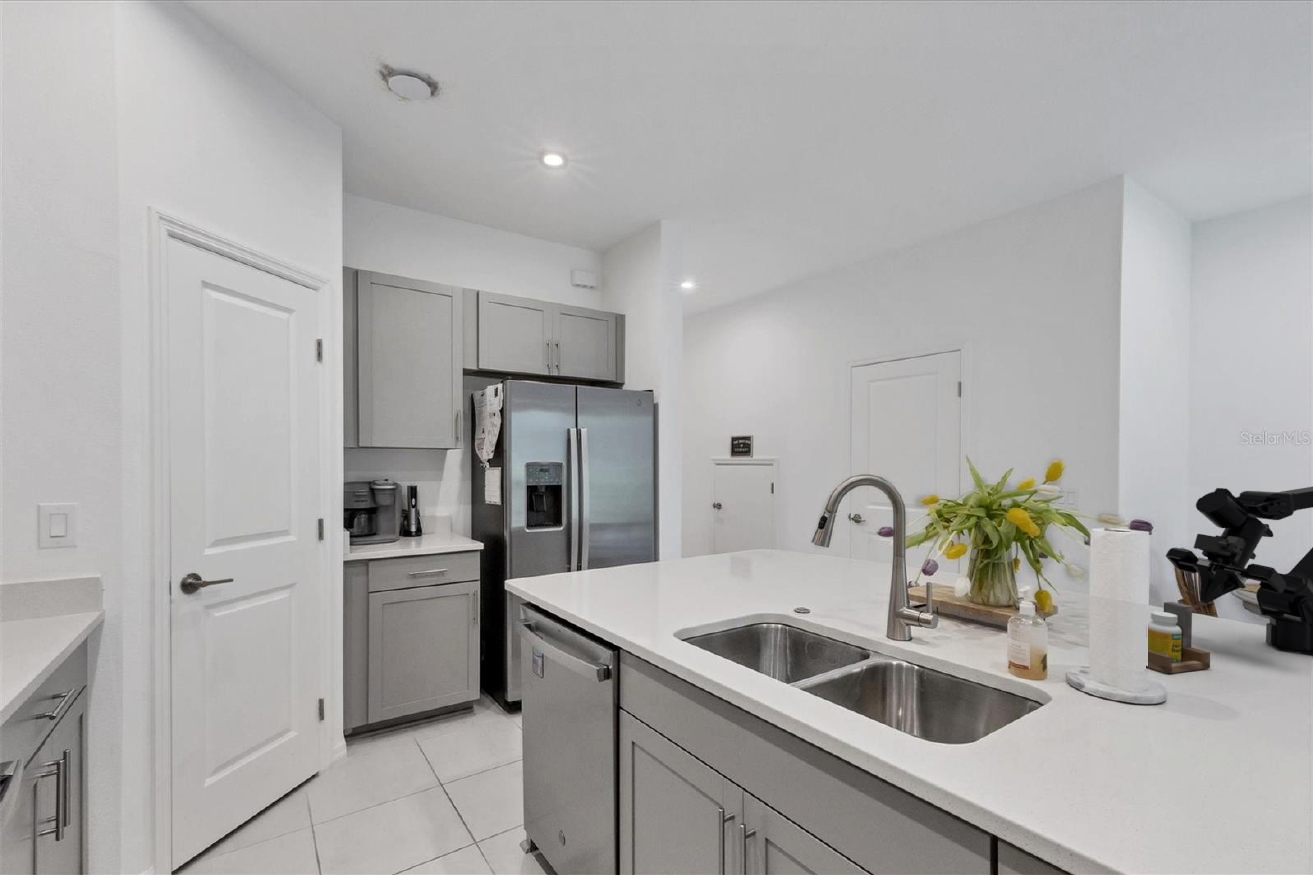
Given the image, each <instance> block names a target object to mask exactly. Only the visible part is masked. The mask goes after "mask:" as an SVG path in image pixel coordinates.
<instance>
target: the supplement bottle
mask: <svg viewBox="0 0 1313 875" xmlns="http://www.w3.org/2000/svg"><path fill="white" fill-rule="evenodd" d="M1150 613H1151V614H1150V618H1151V620H1152V621H1149V622H1147V624H1148V650H1151V651H1154V652H1157V653H1161V654H1164V655H1167V656H1170V657H1172V663H1180V662H1181V640H1182V631H1181V629H1180V627H1178V626H1177V625H1175V624H1176V623H1177V622H1178V618H1177V615H1175V614H1171V613H1167V612H1164V611H1157V610H1154V611H1151V612H1150Z"/></svg>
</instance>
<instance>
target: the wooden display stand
mask: <svg viewBox="0 0 1313 875" xmlns="http://www.w3.org/2000/svg"><path fill="white" fill-rule="evenodd" d="M1163 612H1167V613H1171V614H1175V615H1177V618H1178V622H1177V623H1176V624H1175V625H1177V626H1178V627H1180V629H1181V631H1182V640H1181V662H1180V663H1172V657H1170V656H1167V655H1164V654H1161V653H1157V652H1154V651H1151V650H1148V667H1147V668H1148V669H1149V668H1150V669H1152V670H1156V671H1158V672H1161V673H1163V674H1174V673H1182V672H1189V671H1197V670H1204V669H1210V668H1211V651H1207V650H1204V649H1201V648H1196V647H1193V646H1192V636H1193V635H1192V633H1193V606H1192V605H1187V604H1183V603H1179V602H1174V601H1167V602H1163Z"/></svg>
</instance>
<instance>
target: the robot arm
mask: <svg viewBox="0 0 1313 875" xmlns="http://www.w3.org/2000/svg"><path fill="white" fill-rule="evenodd" d="M1195 508H1196V509H1197V511H1198V512H1200V513H1201V514H1202V516H1204V517H1205V518H1206V519H1208V520H1209V521H1210V522H1211V523H1212V524H1213V525H1215V526H1216V527H1217V528H1220V529H1224V530H1223V531H1222V533H1221V534H1220V535H1215V536H1214V535H1209V534H1208V535H1207V534H1203V533H1197V535H1196V538H1195V540H1194V544H1193V548H1194V549H1195V550H1197V549H1198V550H1200V551H1202V552H1201V555H1202V556H1203V557H1205V558H1203V557H1198V556H1197V555H1196V554H1195V553H1194V552H1193V551H1192V550H1189V549H1184V548H1178V547H1171V548H1170V549H1169V550H1168V551H1167V552H1166V554H1165V557H1166V558H1167V559H1168V561H1169V562H1170V564H1172V565H1173V566H1174V567H1175V568H1176V569H1177V570H1179V571H1182V572H1185V573H1189V574H1194V575H1195V574H1197V573H1198V574H1199V578H1200V597H1199V599H1200V602H1201V603H1202V604H1206V605H1207V604H1209V603H1211V602H1213V601H1216V599H1219V598H1220V597H1222V596H1225V595H1226V594H1228V593H1231V592H1233V591H1236V590H1238V589H1243V590H1244V589H1245V588H1246V585H1245V583H1246V581H1247V580H1253V581H1257V582H1259V584H1258V585H1260V587H1259V588H1258V589H1257V590H1256V594H1255V595H1256V596H1255V597H1256V600H1257V604H1258V607H1259V610H1260V614H1261V615H1262V616H1265V617H1266V616H1267V617H1269V622H1267V623H1266V624H1265V625H1266V628H1265V629H1266V630H1265V643H1266V644H1267V645H1269V646H1271V647H1272V648H1274V649H1276V650H1277V651H1282V652H1288V653H1289V652H1291V653H1297V654H1304V655H1311V656H1313V546H1312V547H1311V548H1310V549H1309V551H1307V552H1306V554H1305V555H1304V556H1303V557H1302V558H1301V559H1300V560H1299V561H1298V562H1297V564H1295V565H1294V566H1293V568H1292V569H1291V570H1290V571H1289V572H1288V573H1280V572H1278V571H1277V570H1276V569H1275V568H1274V567H1272V566H1267V565H1261V564H1257V563H1250V564H1248V563H1249V561H1250V560H1255V559H1256V557H1257V555H1256V553H1255V550H1256V549H1257V547H1258V544H1259V543H1260V541H1261V539H1262V538H1263V537H1265V538H1273V537H1274V533H1273V531H1272V529H1271V528H1270V524H1268V523H1264V522H1262V520H1270V521H1280V520H1283V519H1286V518H1288V517H1291V516H1293V515H1294V513H1295V512H1296V511H1299V510H1300V511H1301V510H1305V509H1311V508H1313V486H1307V487H1301V488H1295V489H1289V490H1284V491H1262V490H1260V491H1259V490H1244V491H1241V492H1240V493H1239V496H1235V495H1233V493H1232V491H1230V490H1229V489H1228V488H1224V487H1223V488H1222V487H1216V489H1215V490H1214V491H1212V492H1208V493H1205V495H1203V496H1201V497H1199V498H1198V499H1197V501H1196V503H1195ZM1261 519H1262V520H1261ZM1247 564H1248V565H1247ZM1246 566H1247V567H1246ZM1245 567H1246V568H1245Z"/></svg>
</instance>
